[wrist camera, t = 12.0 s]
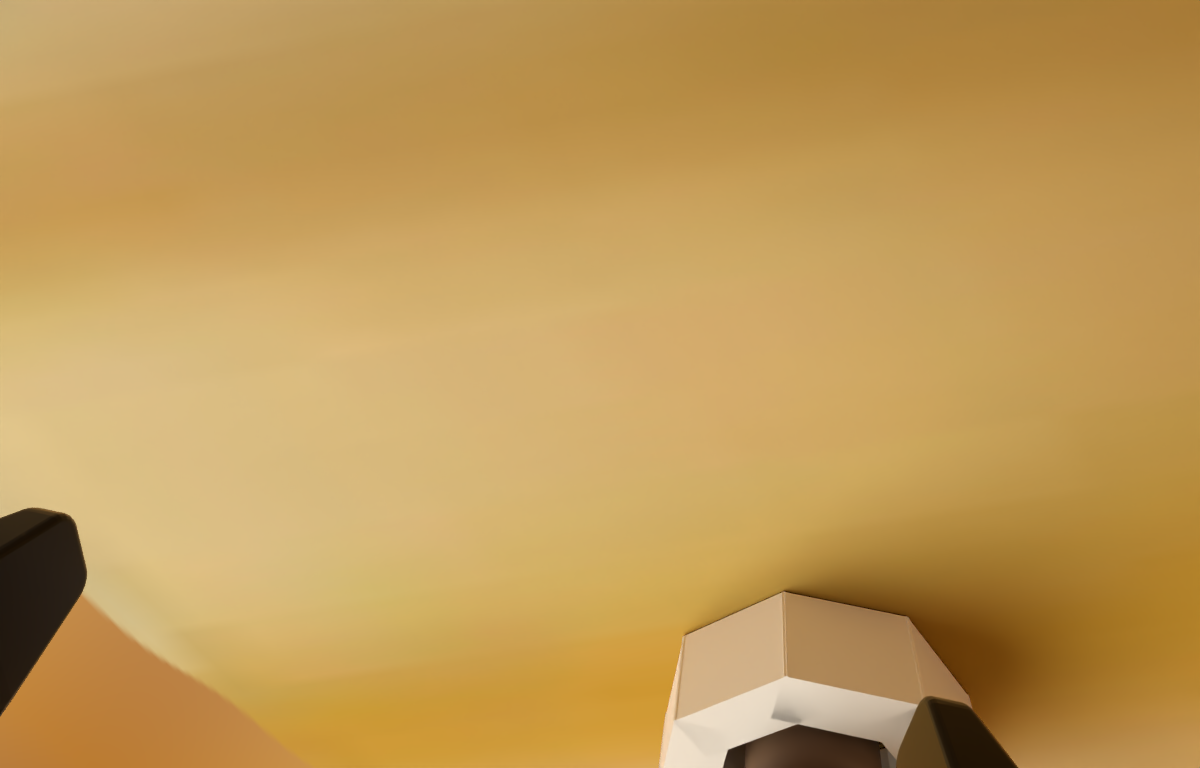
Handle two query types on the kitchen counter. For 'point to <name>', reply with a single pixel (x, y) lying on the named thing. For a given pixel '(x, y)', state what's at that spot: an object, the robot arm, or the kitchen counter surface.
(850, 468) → the kitchen counter surface
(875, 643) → the socket collar
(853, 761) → the walnut peg
